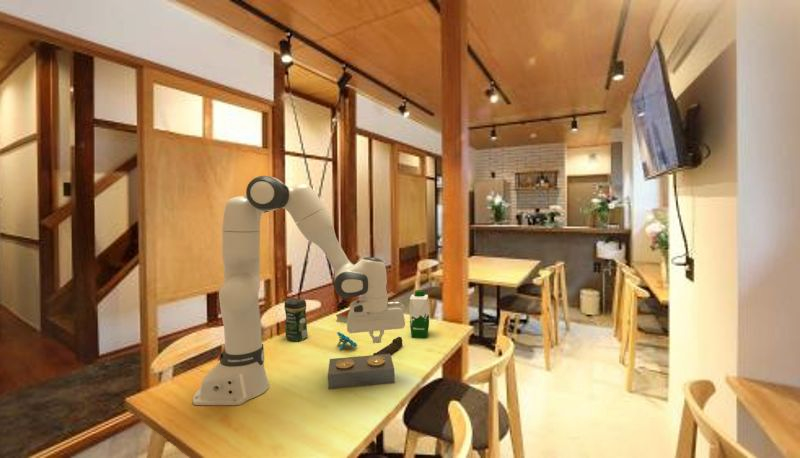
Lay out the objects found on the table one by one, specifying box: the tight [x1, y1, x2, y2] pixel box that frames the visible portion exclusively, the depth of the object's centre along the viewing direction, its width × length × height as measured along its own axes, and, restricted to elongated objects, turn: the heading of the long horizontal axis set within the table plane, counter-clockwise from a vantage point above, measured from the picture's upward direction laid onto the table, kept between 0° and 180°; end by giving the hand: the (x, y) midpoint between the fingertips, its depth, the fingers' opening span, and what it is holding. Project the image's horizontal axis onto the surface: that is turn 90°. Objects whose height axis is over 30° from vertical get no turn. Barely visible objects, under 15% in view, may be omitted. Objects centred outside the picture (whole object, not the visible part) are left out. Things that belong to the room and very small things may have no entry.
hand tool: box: [372, 336, 403, 355], centre depth 142 cm, size 19×4×5 cm, turn 146°
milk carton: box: [408, 289, 430, 339], centre depth 161 cm, size 9×9×20 cm
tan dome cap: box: [367, 356, 385, 366], centre depth 124 cm, size 6×6×5 cm
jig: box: [327, 354, 396, 390], centre depth 123 cm, size 22×12×6 cm, turn 98°
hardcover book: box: [335, 308, 350, 324], centre depth 184 cm, size 12×21×4 cm, turn 59°
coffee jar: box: [284, 297, 309, 342], centre depth 161 cm, size 10×8×19 cm
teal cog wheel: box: [336, 331, 358, 351], centre depth 149 cm, size 11×6×10 cm
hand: (376, 342), depth 123 cm, fingers closed
